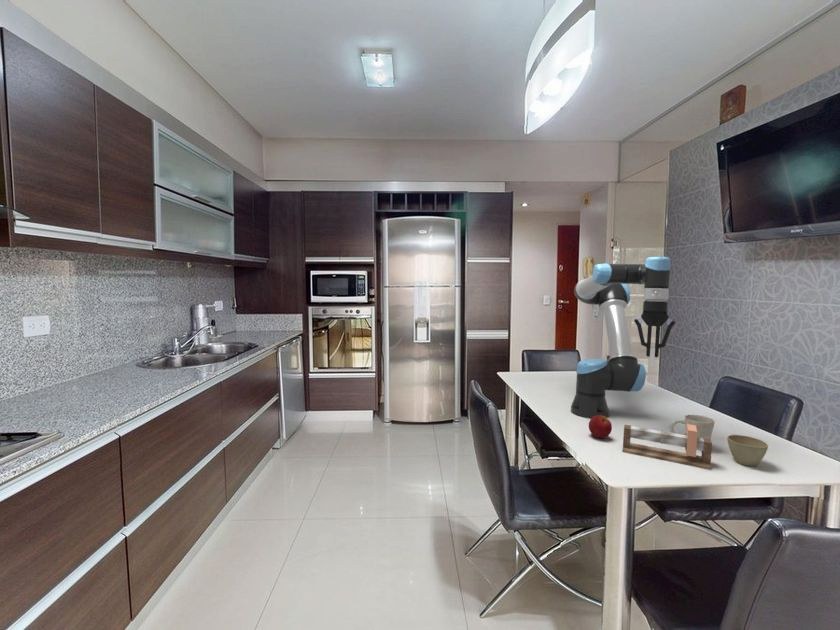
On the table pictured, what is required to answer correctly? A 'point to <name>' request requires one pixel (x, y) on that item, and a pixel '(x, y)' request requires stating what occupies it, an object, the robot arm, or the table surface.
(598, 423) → the apple
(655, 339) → the robot arm
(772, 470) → the table surface
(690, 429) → the salmon pink flat block
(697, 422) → the mug
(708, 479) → the table surface
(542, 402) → the table surface
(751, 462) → the beige bowl
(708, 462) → the pipe stand
